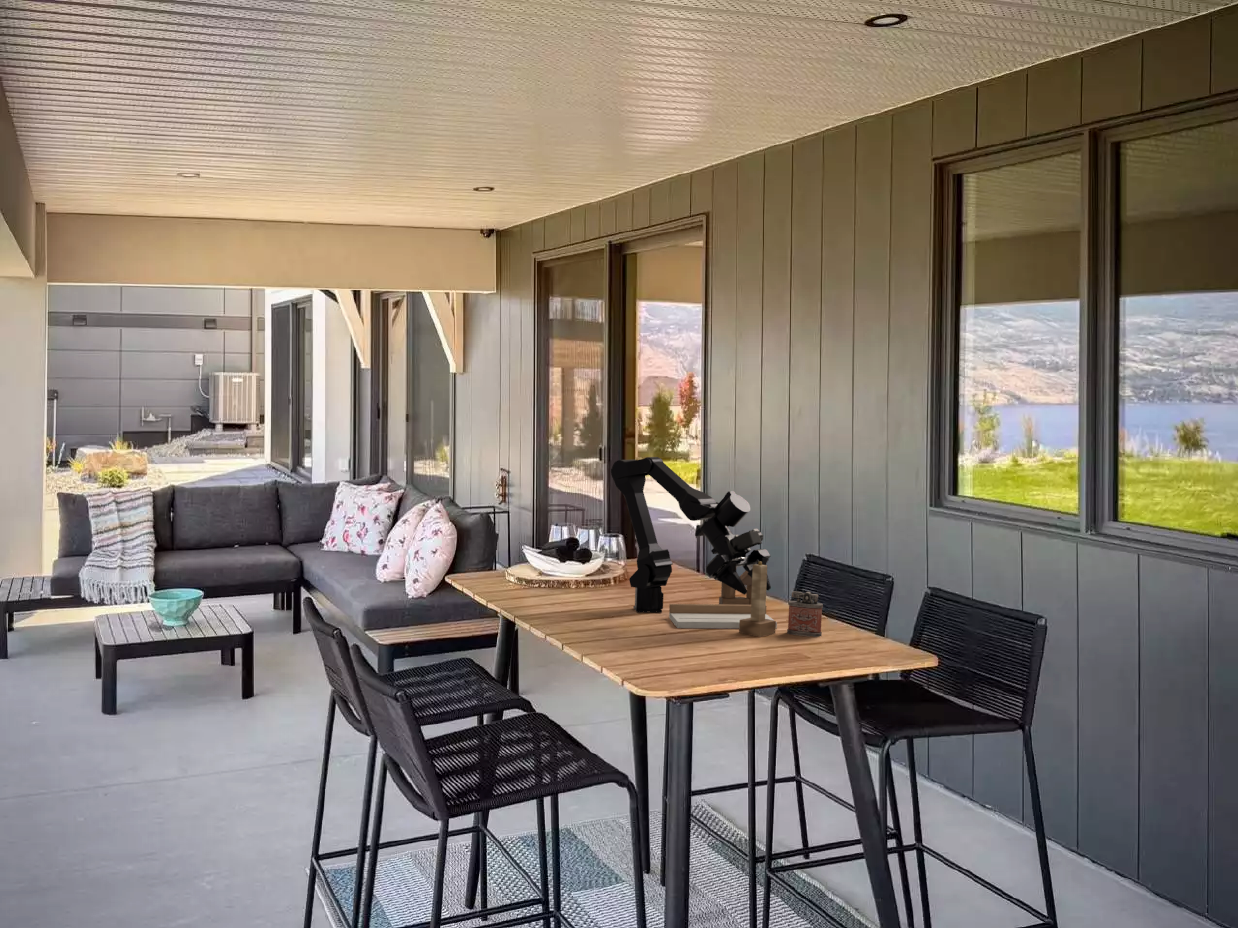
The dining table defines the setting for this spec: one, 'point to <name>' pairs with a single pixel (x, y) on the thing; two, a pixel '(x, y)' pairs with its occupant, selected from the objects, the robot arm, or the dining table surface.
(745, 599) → the brown wooden block structure
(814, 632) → the lighter
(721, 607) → the board
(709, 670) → the dining table surface
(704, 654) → the dining table surface
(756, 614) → the wooden post on base
